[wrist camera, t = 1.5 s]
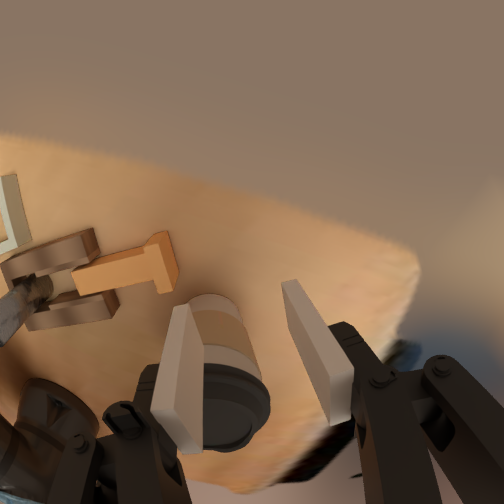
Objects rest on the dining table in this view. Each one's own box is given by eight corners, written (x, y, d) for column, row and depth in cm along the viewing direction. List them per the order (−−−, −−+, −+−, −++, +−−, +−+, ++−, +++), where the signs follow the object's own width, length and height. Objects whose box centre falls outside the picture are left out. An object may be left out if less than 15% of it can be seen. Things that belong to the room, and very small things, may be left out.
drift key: (93, 291, 27) (78, 310, 23) (79, 254, 25) (61, 269, 21) (179, 272, 27) (173, 291, 23) (167, 230, 26) (158, 243, 22)
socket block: (39, 319, 27) (28, 331, 24) (12, 255, 24) (-1, 264, 22) (120, 304, 28) (111, 318, 25) (92, 227, 25) (80, 235, 22)
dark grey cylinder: (38, 299, 26) (-14, 354, 15) (27, 273, 25) (-32, 321, 14) (57, 295, 27) (4, 353, 15) (46, 267, 26) (-15, 318, 14)
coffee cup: (152, 310, 29) (117, 416, 14) (220, 267, 28) (226, 368, 14) (201, 363, 32) (200, 469, 17) (265, 328, 31) (297, 434, 17)
